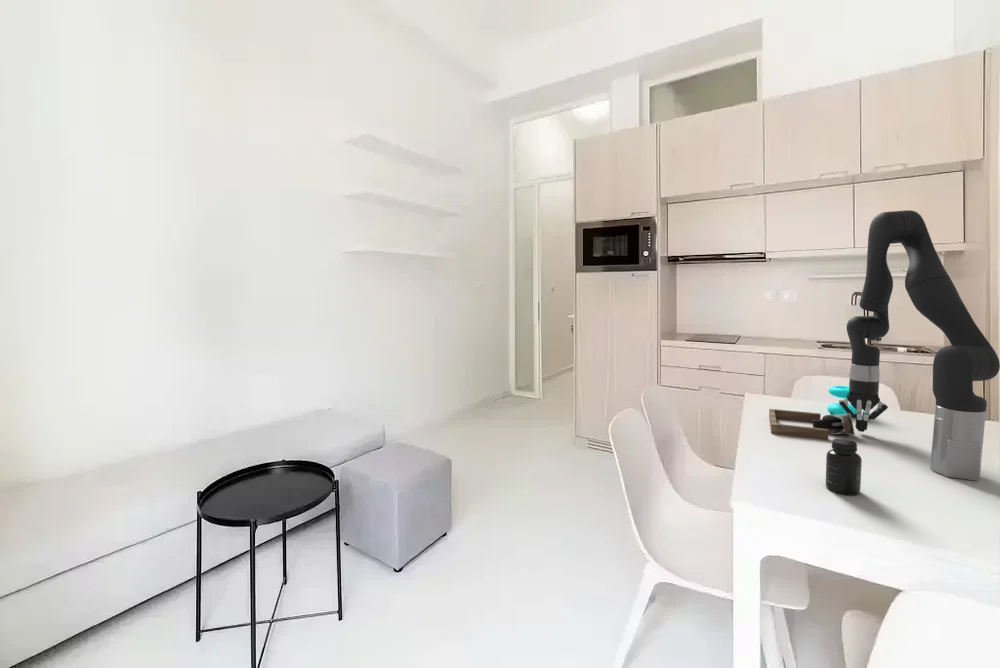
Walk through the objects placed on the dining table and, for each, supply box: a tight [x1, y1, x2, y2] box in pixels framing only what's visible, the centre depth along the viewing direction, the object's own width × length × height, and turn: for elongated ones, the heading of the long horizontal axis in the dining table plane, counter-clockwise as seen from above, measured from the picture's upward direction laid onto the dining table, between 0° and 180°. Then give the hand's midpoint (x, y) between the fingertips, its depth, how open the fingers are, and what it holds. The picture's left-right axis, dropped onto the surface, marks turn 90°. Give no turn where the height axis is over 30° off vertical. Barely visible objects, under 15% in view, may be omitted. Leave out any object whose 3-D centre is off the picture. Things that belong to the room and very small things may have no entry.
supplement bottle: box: [825, 438, 862, 496], centre depth 112 cm, size 7×7×12 cm
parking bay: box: [768, 408, 829, 441], centre depth 160 cm, size 21×16×3 cm
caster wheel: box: [811, 413, 855, 436], centre depth 154 cm, size 7×11×10 cm
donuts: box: [826, 384, 856, 415], centre depth 174 cm, size 10×10×10 cm
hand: (861, 430), depth 152 cm, fingers closed
